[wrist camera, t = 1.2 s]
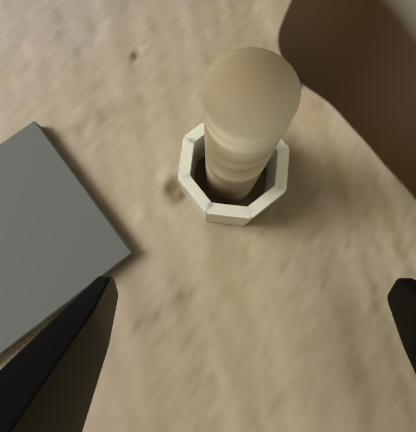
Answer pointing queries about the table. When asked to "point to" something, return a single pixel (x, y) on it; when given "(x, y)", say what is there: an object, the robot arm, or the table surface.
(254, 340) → the table surface
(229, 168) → the birch peg
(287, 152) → the holder cup
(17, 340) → the rubber mat
